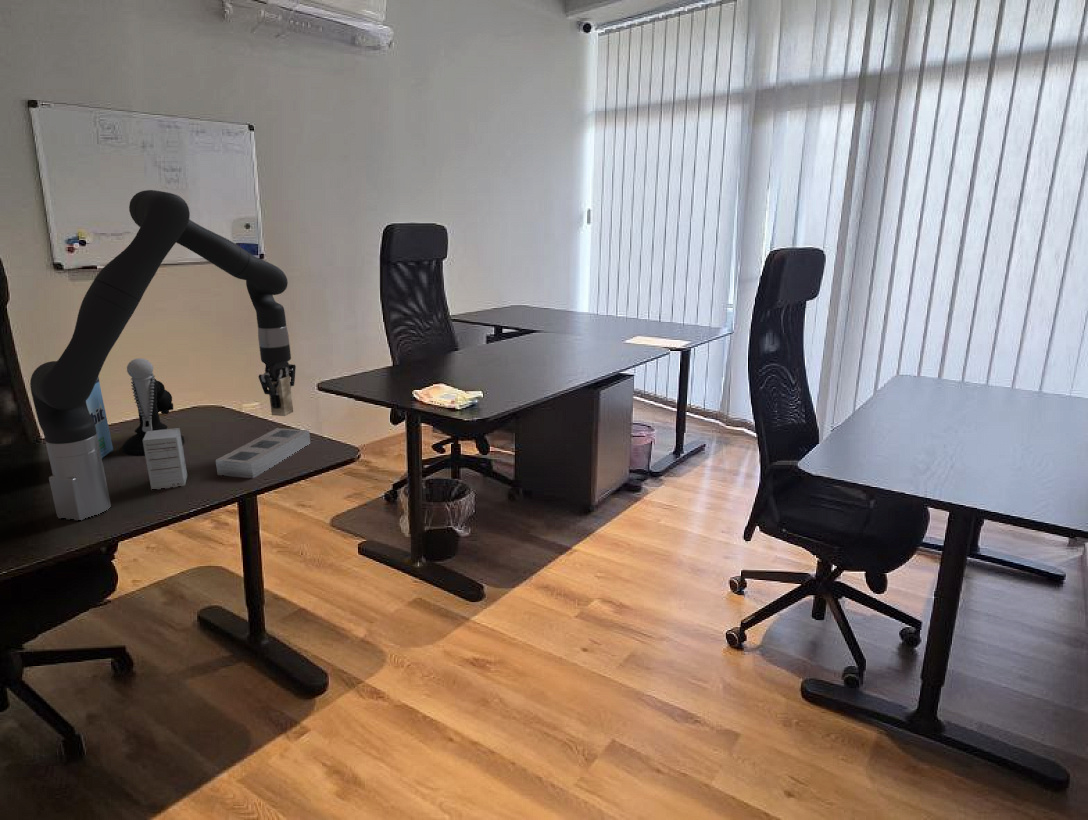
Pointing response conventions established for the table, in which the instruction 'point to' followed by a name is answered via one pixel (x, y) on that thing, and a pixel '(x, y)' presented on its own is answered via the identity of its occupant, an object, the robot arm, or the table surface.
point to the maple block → (283, 398)
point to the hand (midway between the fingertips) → (281, 405)
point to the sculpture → (146, 404)
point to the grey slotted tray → (262, 453)
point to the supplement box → (165, 458)
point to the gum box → (99, 419)
